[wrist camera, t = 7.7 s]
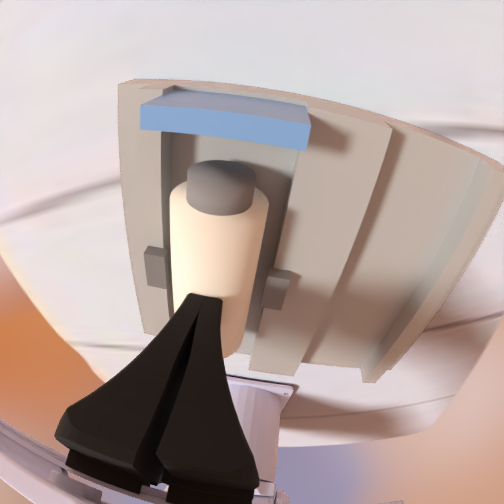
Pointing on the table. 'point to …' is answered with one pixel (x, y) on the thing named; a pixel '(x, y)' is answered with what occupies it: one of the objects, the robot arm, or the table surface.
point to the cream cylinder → (218, 240)
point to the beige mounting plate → (310, 216)
